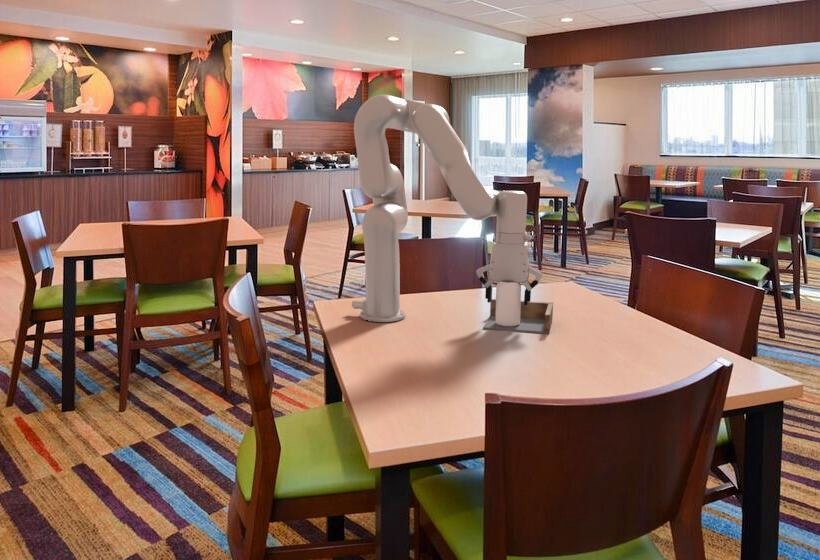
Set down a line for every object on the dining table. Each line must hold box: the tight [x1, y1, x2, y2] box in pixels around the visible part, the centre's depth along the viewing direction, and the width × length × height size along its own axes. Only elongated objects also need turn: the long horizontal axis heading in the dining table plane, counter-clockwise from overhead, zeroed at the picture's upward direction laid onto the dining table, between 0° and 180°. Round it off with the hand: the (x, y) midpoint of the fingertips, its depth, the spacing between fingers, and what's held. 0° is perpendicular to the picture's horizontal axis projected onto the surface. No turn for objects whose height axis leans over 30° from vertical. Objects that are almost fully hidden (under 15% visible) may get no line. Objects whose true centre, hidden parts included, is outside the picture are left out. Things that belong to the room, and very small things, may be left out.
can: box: [495, 281, 522, 327], centre depth 177 cm, size 6×6×12 cm
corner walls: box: [489, 298, 554, 335], centre depth 179 cm, size 17×14×5 cm
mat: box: [482, 315, 551, 335], centre depth 179 cm, size 17×14×1 cm
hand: (507, 302), depth 177 cm, fingers open, 9 cm apart
